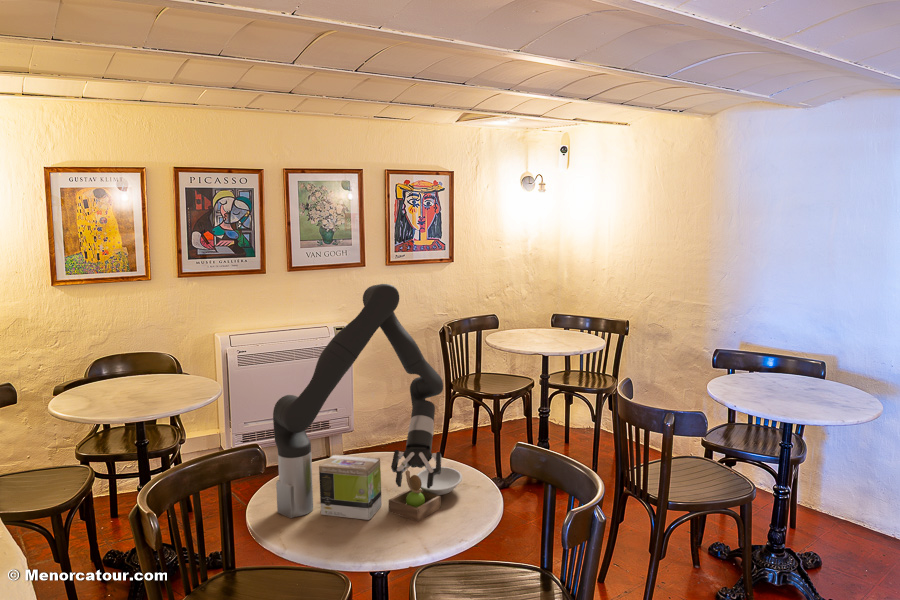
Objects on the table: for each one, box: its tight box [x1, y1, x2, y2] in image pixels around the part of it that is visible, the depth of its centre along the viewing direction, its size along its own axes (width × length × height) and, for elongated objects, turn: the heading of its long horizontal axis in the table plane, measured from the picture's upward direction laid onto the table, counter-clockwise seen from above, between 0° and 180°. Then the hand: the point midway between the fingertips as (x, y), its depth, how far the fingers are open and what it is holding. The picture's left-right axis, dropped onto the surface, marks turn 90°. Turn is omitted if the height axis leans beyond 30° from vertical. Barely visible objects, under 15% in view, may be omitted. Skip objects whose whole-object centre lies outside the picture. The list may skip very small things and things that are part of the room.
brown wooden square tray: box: [388, 488, 442, 522], centre depth 182 cm, size 11×11×4 cm
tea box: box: [318, 454, 382, 521], centre depth 181 cm, size 15×10×15 cm, turn 74°
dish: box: [416, 466, 463, 496], centre depth 192 cm, size 18×14×5 cm
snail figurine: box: [405, 466, 425, 508], centre depth 181 cm, size 5×6×12 cm
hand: (413, 486), depth 180 cm, fingers open, 8 cm apart
